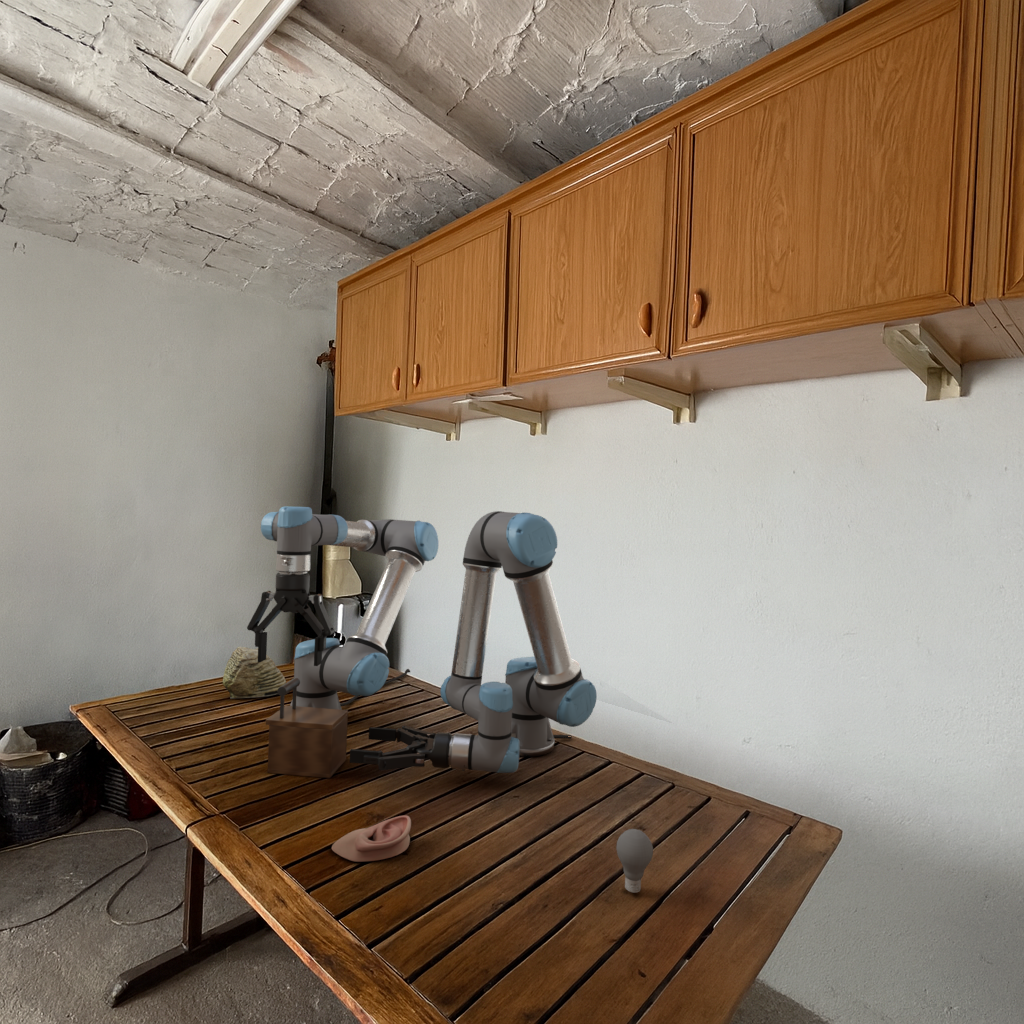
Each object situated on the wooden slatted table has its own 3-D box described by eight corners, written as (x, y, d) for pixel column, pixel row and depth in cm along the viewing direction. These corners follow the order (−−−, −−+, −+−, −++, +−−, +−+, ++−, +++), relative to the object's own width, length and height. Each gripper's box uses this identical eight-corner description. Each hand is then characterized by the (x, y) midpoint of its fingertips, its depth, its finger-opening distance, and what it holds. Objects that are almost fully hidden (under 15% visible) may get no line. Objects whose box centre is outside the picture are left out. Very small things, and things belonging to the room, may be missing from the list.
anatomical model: (323, 834, 111) (353, 804, 123) (323, 856, 111) (352, 824, 123) (394, 845, 109) (418, 814, 120) (393, 868, 109) (417, 834, 120)
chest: (267, 772, 144) (269, 725, 144) (287, 755, 154) (289, 710, 154) (330, 778, 143) (331, 730, 142) (346, 759, 153) (347, 714, 153)
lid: (265, 724, 144) (266, 687, 144) (285, 710, 154) (286, 675, 154) (331, 729, 142) (333, 692, 142) (347, 714, 153) (349, 679, 152)
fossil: (218, 695, 195) (220, 647, 195) (278, 685, 208) (279, 640, 207) (228, 703, 189) (230, 653, 188) (289, 692, 201) (290, 645, 201)
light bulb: (610, 879, 108) (613, 822, 108) (644, 879, 109) (647, 822, 109) (619, 902, 102) (622, 840, 102) (655, 901, 103) (658, 840, 103)
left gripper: (233, 571, 145) (230, 663, 146) (338, 577, 143) (335, 670, 143) (250, 567, 153) (247, 655, 153) (350, 573, 151) (347, 662, 151)
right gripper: (440, 792, 132) (340, 784, 133) (459, 746, 156) (375, 739, 158) (441, 756, 131) (342, 748, 133) (460, 715, 156) (376, 710, 158)
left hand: (289, 662), depth 148 cm, fingers open, 13 cm apart
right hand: (360, 743), depth 146 cm, fingers open, 13 cm apart
